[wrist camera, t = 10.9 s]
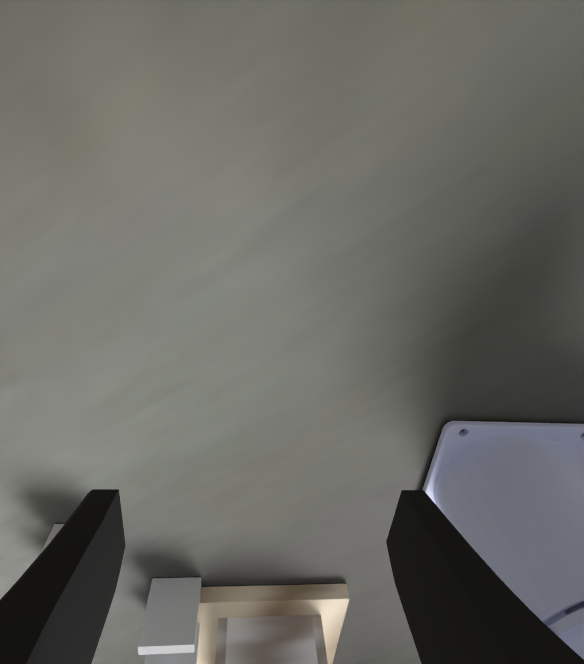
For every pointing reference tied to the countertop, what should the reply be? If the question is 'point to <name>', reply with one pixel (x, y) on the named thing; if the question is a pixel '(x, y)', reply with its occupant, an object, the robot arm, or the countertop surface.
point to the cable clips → (167, 619)
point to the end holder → (271, 624)
